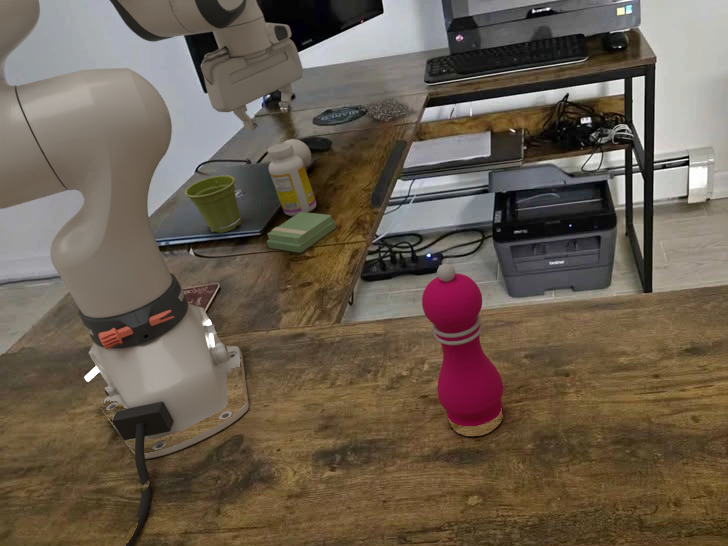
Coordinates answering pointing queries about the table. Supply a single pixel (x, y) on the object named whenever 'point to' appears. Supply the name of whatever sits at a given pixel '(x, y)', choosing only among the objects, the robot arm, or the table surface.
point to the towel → (300, 232)
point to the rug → (384, 109)
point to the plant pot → (216, 202)
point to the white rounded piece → (301, 151)
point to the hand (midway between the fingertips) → (270, 120)
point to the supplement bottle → (290, 180)
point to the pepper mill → (462, 349)
